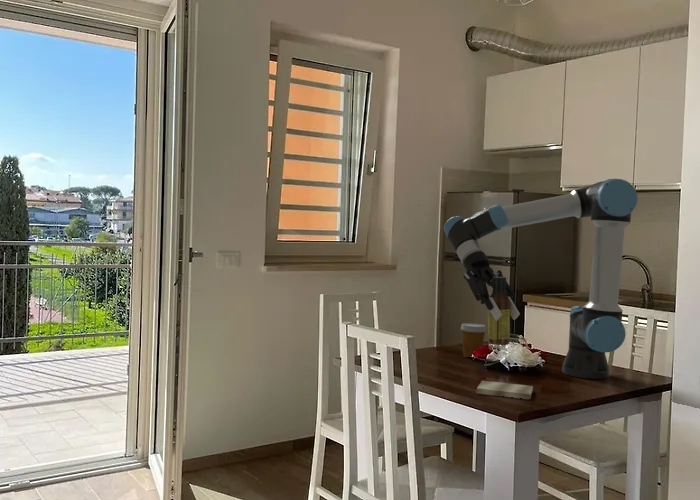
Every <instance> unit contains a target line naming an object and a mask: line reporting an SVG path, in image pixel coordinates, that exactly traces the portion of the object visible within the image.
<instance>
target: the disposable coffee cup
mask: <svg viewBox="0 0 700 500" xmlns="http://www.w3.org/2000/svg"><path fill="white" fill-rule="evenodd" d="M459 329H460V331H461V342H462V351H463V352H462V353H463V354H462V355H463V357H464V358H467V357H471V356H472V354H473V352H474V350H475V349H477V348H479V347H481V346H482V347H483V345H484V339H485V334H486V330H487V328H486V325H485V324H481V323H475V322H474V323H473V322H466V323H465V322H464V323H462V324H461V327H460V328H459Z"/></svg>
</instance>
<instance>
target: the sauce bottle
mask: <svg viewBox="0 0 700 500" xmlns="http://www.w3.org/2000/svg"><path fill="white" fill-rule="evenodd" d="M491 281H492V282H493V288H492V290H491V291H492V293H491V294H490V295H489V298H490V297H492V298H493V300H494V301H495V303H496V305H497V307H498V308H499V310H500V312H501V314H502V316H501V317H500V318H499V319H498V321H495V319H494V317H493V315H492V314H491V312H490V310H488V309H487V311H488V314H487V315H488V316H487V317H488V319H487V320H488V321H487V322H488V325H487V326H488V330H487V331H488V332H487V338H488V343H489V344H491V345H494V346H495V345H496V346H507V345H509V344H510V338H511V333H510V332H511V328H510V327H511V323H510V321H511V320H510V319H511V315H510V307H509V298H508V296H507V294H506V281H507V277H506V276H503V277H492V280H491Z"/></svg>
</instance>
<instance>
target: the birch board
mask: <svg viewBox="0 0 700 500" xmlns="http://www.w3.org/2000/svg"><path fill="white" fill-rule="evenodd" d="M533 391H534V386H533V385H528V384H527V385H525V384H517V383H509V382H508V383H507V382H499V381H490V380H489V381H487V380H480V383H479V384H478V386H477V387H476V395H477V394H478V395H487V396H495V397H503V396H504V398H511V397H513V399H520V398H522V400H529V399H530V400H531V399H532V396H533V395H532V394H533Z"/></svg>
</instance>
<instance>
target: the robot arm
mask: <svg viewBox="0 0 700 500" xmlns="http://www.w3.org/2000/svg"><path fill="white" fill-rule="evenodd" d="M637 204H638V192H637V191H636V188H635V187H634V186H633V184H631V182H629V181H627V180H625V179H622V178H608V179H606V180H603V181H599V182H596V183H593V184H590V185H588V186H585V187H581V188H578V189H577V188H576V189H573V190H572V191H571V192H570V193H567V194H562V195H556V196H552V197H547V198H541V199H536V200H532V201H526V202H520V203H516V204H511V205H505V206H504V205H503V206H501V205H500V204H498V203H497V204H494V205H492V206H489V207H488V208H486V209H483V210H478V211H476V212H474V213H473V215H472V216H470V217H467V218H464V217H463V216H461V215H456V216H452V217H450V218H449V219H447V221H445V223H444V225H443V232H444V233H445V235H446V237H447V239H448V242H449V243H450V245H451V246H452V248H453V250H454V251H455V253H456V254H457V256H458V258H459V260H460V262H461V263H462V266H463V267H464V269H465V271H466V272H465V273H464V274H463V278H464V279H465V281H466V282H467V284H468V286H469V288H470V290H471V292H472V294H473V296H474V298H475V300H476V301H478V302H479V301H480V304H481V305H485V306H486V309H487V311H488V310H490V312H491V314H492V315H493V317H494V319H495V321H498V319H499V318H500V317H501V316H502V314H501V312H500V310H499V308H498V307H497V305H496V303H495V301H494V300H493V298H492V297H490V294H489V290H488V287H487V285H488V286H489V287H491V288H492V289H493V282H492V277H504V275H503V272H502V270H500V269H499V270H497V271H495V270H494V269H493V268H492V267H491V266H490V260H489V258H488V257H487V255H486V253H485V251H484V250H483V247H482V246H481V245H480V243H479V241H478V240H480V239H482V238H484V237H486V236H488V235H490V234H492V233H495V232H497V231H500V230H506V229H507V230H508V229H511V228H518V227H523V226H528V225H533V224H538V223H545V222H549V221H555V220H560V219H565V218H570V217H575V218H577V219H582V218H590V222H591V223H592V224H593V225H594V227H595V228H594V238H593V251H592V252H593V253H592V261H591V275H590V287H589V297H588V302H586V304H585V305H574V306H572V307H571V308H570V313H569V333H568V335H569V336H568V349H567V353H566V356H565V358H564V360H563V363H562V367H561V369H562V370H561V372H562V373H563V374H564V375H567V376H570V377H576V378H582V379H592V380H599V379H600V380H603V379H608V378H610V375H611V372H610V371H611V370H610V366H609V362H608V360H607V359H608V358H607V356H606V353H611V352H615V351H616V350H618V349H619V348H620V347H621V346H622V345H623V343H624V341H625V340H626V333H627V332H626V328H625V326H624V324H623V321H622V320H623V308H621V307H620V305H619V295H620V287H621V286H620V283H621V272H622V261H623V260H622V259H623V250H624V237H625V229H626V227H628V226H629V225H630V224H631V220H632V219H631V218H632V217H631V216H632V212H634V210H635V208H636V206H637ZM507 281H508V280H506V294H507V296H508V298H509V307H510V318H511V319H512V320H515V321H516V319H518V317H519V316H520V315H521V313H520V311H519V310H518V308H517V306H516V304H515V303H516V302H514V300H513V298H514V297H515V295H516V294H515V292H514V290H513V289H512V287H511V286H510V284H509V283H508V282H507ZM489 297H490V298H489Z"/></svg>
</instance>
